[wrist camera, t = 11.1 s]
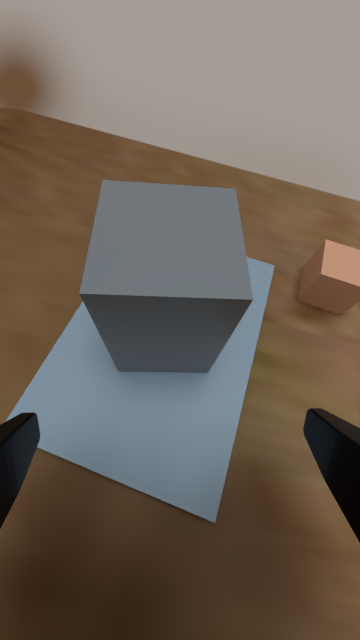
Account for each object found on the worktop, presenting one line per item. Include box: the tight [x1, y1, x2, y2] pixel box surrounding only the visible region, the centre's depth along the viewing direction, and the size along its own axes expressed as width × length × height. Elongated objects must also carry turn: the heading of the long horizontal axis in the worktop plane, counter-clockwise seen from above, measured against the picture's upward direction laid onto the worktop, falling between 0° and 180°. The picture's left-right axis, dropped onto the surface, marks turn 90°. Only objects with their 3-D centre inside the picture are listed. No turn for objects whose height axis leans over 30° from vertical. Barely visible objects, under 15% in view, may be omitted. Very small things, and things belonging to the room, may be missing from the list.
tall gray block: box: [79, 180, 253, 373], centre depth 15 cm, size 6×6×10 cm
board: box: [6, 257, 275, 523], centre depth 20 cm, size 20×14×1 cm
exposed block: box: [297, 240, 360, 315], centre depth 23 cm, size 4×4×4 cm
